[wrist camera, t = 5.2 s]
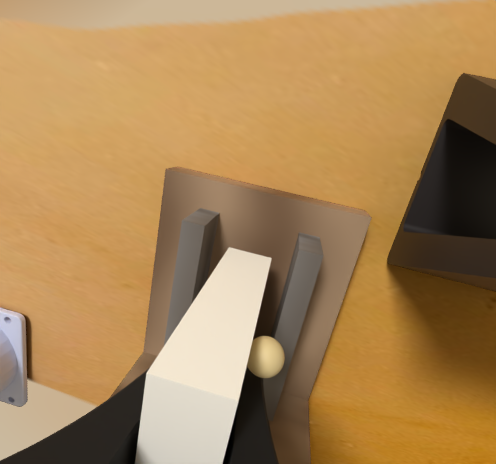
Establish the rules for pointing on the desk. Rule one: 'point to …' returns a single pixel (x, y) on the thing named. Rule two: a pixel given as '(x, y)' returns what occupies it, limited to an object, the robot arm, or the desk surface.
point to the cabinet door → (207, 367)
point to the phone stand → (456, 193)
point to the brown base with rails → (277, 285)
